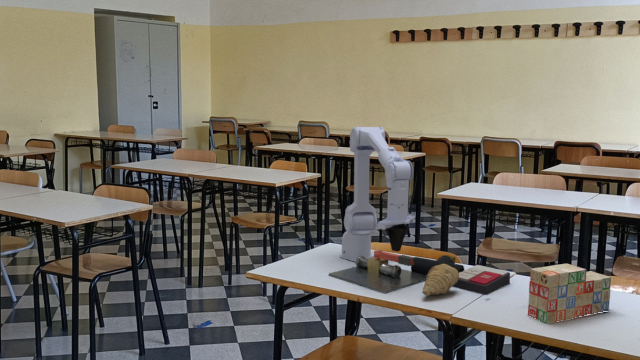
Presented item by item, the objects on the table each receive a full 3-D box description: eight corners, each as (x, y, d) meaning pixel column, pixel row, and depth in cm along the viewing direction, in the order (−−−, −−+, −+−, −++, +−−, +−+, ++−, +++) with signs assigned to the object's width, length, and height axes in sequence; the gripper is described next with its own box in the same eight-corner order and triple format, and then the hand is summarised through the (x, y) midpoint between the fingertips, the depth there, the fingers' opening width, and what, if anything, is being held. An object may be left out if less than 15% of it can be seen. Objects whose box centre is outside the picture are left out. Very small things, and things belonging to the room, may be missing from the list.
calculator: (450, 274, 170) (476, 262, 181) (450, 289, 171) (476, 276, 182) (485, 283, 163) (510, 270, 174) (485, 298, 164) (510, 284, 175)
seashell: (442, 305, 155) (444, 275, 154) (413, 299, 159) (414, 269, 158) (460, 291, 166) (461, 263, 165) (432, 286, 171) (433, 258, 169)
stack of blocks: (588, 305, 157) (592, 259, 156) (609, 312, 152) (613, 265, 150) (526, 316, 148) (530, 267, 147) (546, 324, 143) (549, 274, 141)
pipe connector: (427, 250, 191) (472, 257, 183) (426, 266, 192) (471, 274, 183) (411, 258, 182) (458, 266, 173) (410, 275, 182) (457, 284, 174)
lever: (372, 257, 181) (372, 250, 181) (377, 256, 183) (377, 249, 183) (409, 266, 172) (409, 258, 172) (414, 264, 174) (414, 257, 174)
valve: (328, 275, 179) (328, 259, 178) (375, 263, 193) (375, 248, 193) (384, 293, 163) (385, 276, 162) (431, 279, 177) (432, 262, 177)
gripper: (393, 208, 161) (391, 257, 163) (424, 202, 171) (422, 249, 173) (372, 205, 166) (371, 252, 168) (404, 199, 176) (402, 244, 178)
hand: (395, 250), depth 171 cm, fingers closed
